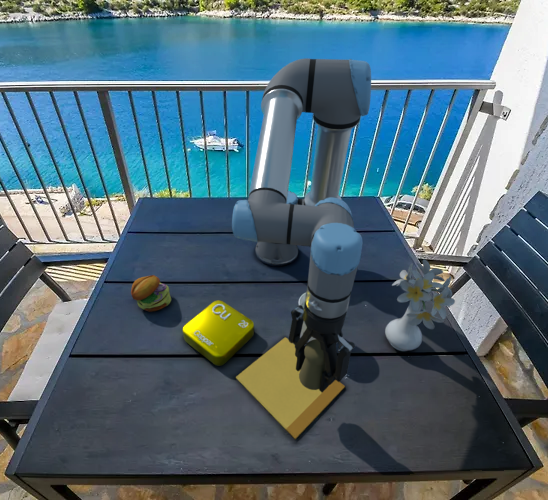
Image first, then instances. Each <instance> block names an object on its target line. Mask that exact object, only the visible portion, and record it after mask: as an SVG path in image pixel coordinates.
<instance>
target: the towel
mask: <svg viewBox="0 0 548 500" xmlns="http://www.w3.org/2000/svg"><path fill="white" fill-rule="evenodd" d="M295 350H296V349H295V345H294V343H290V342H289V338H287V337H284V338H282V339H281V340H280V341H278V342H277V343H276V344H274V345H273V346H272V347H271V348H270V349H269V350H267V351H266V352H264V353H263V354H262V355H261V356H260V357H258V359H256V360H255V361H253V362H252V363H251V364H250V365H248V366H247V367H246V368H245V369H244V370H242V371H241V372H240V373H239V374H238V375H236V376H235V379H236V380H237V381H238V382H239V383H240V385H242V386H243V387H244V388H245V389H246V390H247V391H248V392H249V394H250V395H251V396H253V398H254V399H255V400H256V401H257V402H258V403H259V404H260V405H261V406H262V407H263V408H264V409H265V410H266V411H267V412H268V414H270V416H272V418H274V420H276V422H277V423H278V424H279V425H280V426H281V427H282V428H283V429H284V430H285V431H286V432H287V433H288V434H289V435H290V436H291V437H292V438H293V440H297V438H298V437H300V436H301V434H302V433H303V432H304V431H305V430H307V428H308V427H309V426H310V425H311V424H312V423H313V422H314V421H315V420H316V419H317V417H319V416H320V414H321V413H323V411H324V410H325V409H326V408H327V407H328V406H329V405H330V404H331V403H332V402H333V401H334V400H335V399H336V398H337V396H338V395H339V394H340V393H341V392H342V391H343V390H344V389H345V388H346V386H345V385H344V384H343V383H342V382H341V381H339V382H338V381H336V380H335V381H334V382H333V383H332V384H331V385H329V386H328V387H327V388H326V389H325V390H324V391H323V392H321V391H320V390H319V389H318V390H311V389H308V388H306V387H305V386H303V385H302V383H301V382H300V379H299V373H300V370H301V369H300V370H299V371H297V370H296V363H297V357H296V356H295Z"/></svg>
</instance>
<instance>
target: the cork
mask: <svg viewBox="0 0 548 500" xmlns="http://www.w3.org/2000/svg"><path fill="white" fill-rule="evenodd" d="M305 345H306V346H305V349H304V354H305V360H304V362H303V365H302V368H301V370H300V373H299V379H300V382H301V383H302V385H303V386H305V387H306V388H308V389H311V390H318V389H320V385H321V380H322V376H323V372H325V371H326V366H325V359H324V353H323V350H321V346H320V342H319V341H318V340H317V339H315V340H311V341H309V342H308V343H306V344H305Z"/></svg>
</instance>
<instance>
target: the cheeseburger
mask: <svg viewBox="0 0 548 500" xmlns="http://www.w3.org/2000/svg"><path fill="white" fill-rule="evenodd" d="M130 294H131V297H132V299H133V300H135V302H137V306H138V307H139V309H142V310H144V311H145V312H150V313H151V312H156V311H159V310H162V309H164V308H165V307H168V306H169V305H170V304H171V302H172V297H171V292H170V287H169V286H168V285H167V284H166V283H162V282H161V279H160V278H159V277H158V276H156V275H155V274H152V275H151V274H150V275H147V276H142V277H141V276H140V277H139V278H137V279H135V280H134V282H133V283H132V285H131V289H130Z"/></svg>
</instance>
